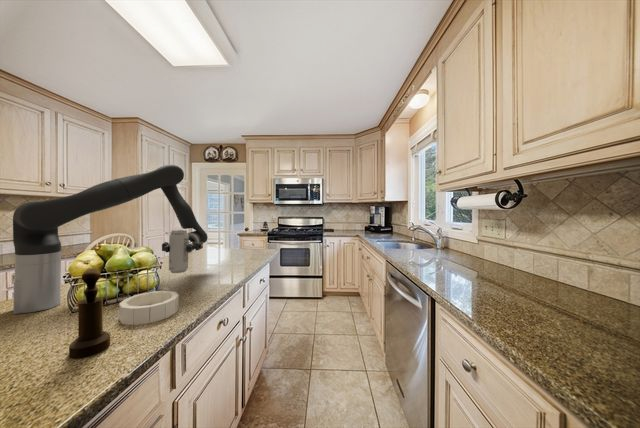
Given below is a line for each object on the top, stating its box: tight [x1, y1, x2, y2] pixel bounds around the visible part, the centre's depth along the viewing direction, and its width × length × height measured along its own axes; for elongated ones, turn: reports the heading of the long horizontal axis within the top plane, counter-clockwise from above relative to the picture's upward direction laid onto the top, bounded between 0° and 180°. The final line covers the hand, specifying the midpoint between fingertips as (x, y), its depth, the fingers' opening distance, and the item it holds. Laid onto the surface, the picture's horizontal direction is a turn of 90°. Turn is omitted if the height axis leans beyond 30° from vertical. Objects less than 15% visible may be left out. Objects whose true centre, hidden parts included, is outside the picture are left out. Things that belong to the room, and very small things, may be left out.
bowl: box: [118, 290, 179, 326], centre depth 70 cm, size 14×14×4 cm
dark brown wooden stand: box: [68, 268, 111, 360], centre depth 52 cm, size 7×6×18 cm
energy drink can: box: [168, 229, 189, 274], centre depth 85 cm, size 6×6×15 cm
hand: (177, 249), depth 83 cm, fingers closed on energy drink can, 6 cm apart
